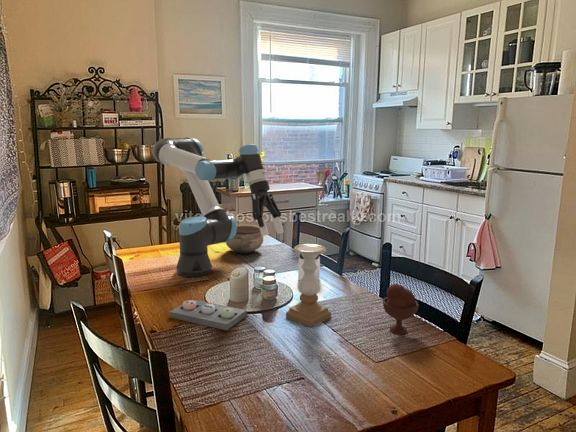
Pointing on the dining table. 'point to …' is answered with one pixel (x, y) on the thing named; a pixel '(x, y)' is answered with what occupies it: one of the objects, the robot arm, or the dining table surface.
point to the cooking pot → (246, 239)
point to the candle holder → (309, 290)
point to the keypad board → (208, 316)
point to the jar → (300, 270)
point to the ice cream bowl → (399, 306)
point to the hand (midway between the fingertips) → (273, 234)
